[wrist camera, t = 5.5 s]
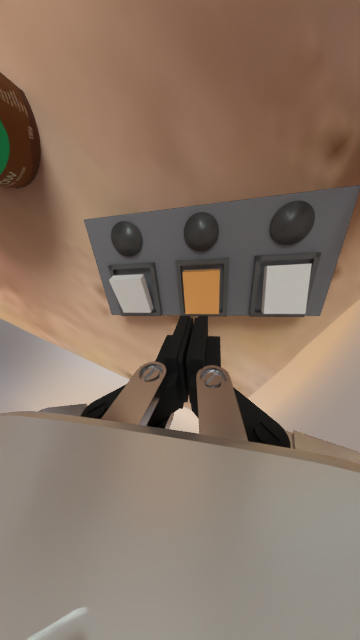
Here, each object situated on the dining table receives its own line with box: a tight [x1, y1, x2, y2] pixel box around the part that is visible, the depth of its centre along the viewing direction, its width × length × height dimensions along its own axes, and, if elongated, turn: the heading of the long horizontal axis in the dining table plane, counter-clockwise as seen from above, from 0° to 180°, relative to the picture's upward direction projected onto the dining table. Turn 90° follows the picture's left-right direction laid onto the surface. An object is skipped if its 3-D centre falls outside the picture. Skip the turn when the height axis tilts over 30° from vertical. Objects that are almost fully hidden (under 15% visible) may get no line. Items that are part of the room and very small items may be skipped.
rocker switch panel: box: [84, 185, 360, 317], centre depth 17 cm, size 10×22×4 cm, turn 95°
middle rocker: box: [183, 269, 220, 314], centre depth 16 cm, size 4×3×1 cm
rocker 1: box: [109, 274, 153, 313], centre depth 18 cm, size 4×3×1 cm
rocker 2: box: [261, 264, 312, 314], centre depth 15 cm, size 4×3×1 cm
